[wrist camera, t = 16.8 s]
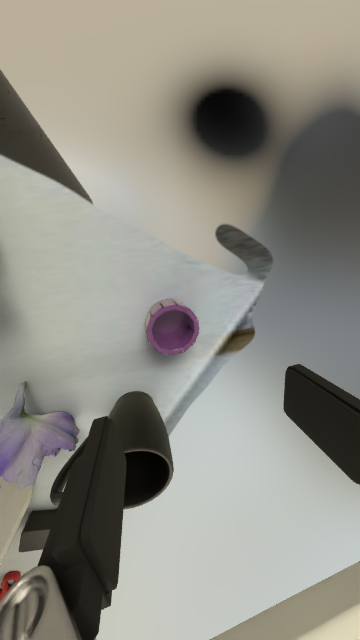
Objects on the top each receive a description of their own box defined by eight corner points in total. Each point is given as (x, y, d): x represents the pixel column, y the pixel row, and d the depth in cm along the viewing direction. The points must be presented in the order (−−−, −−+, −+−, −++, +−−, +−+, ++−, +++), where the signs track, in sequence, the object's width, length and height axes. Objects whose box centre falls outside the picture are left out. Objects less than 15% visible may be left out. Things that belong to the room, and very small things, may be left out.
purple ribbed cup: (141, 303, 22) (141, 310, 18) (187, 295, 23) (196, 300, 19) (150, 346, 24) (152, 359, 20) (192, 337, 25) (201, 348, 21)
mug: (67, 400, 23) (22, 484, 14) (156, 376, 25) (165, 436, 16) (87, 444, 26) (61, 537, 17) (167, 419, 28) (180, 491, 19)
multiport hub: (103, 523, 28) (105, 505, 30) (21, 532, 25) (30, 511, 27) (97, 542, 29) (100, 523, 31) (18, 552, 26) (27, 530, 28)
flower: (-99, 431, 14) (-45, 552, 13) (29, 369, 18) (76, 457, 17) (-23, 414, 22) (13, 487, 21) (53, 374, 26) (86, 434, 25)
